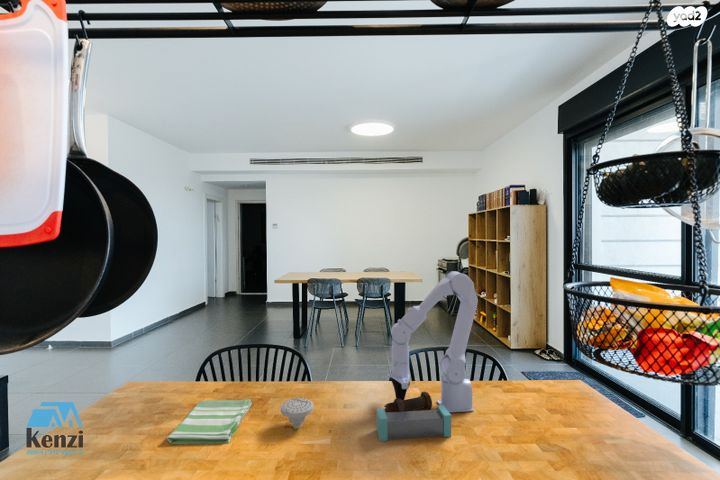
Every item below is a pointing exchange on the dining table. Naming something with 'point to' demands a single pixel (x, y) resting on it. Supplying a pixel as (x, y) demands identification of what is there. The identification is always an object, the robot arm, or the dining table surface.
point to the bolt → (410, 404)
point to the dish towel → (210, 422)
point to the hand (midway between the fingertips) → (400, 402)
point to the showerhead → (297, 410)
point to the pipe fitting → (413, 424)
